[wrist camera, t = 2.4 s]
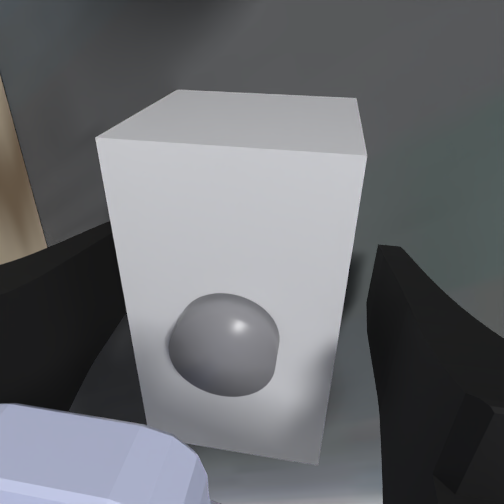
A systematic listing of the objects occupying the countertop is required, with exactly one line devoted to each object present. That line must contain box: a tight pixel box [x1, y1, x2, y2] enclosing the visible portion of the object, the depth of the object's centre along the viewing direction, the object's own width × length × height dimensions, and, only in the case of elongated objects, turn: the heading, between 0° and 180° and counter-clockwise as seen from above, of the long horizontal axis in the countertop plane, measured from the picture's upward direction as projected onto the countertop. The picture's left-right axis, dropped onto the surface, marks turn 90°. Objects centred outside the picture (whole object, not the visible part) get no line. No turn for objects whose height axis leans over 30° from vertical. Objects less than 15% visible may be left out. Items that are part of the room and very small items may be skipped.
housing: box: [95, 90, 367, 466], centre depth 12 cm, size 9×5×6 cm, turn 179°
